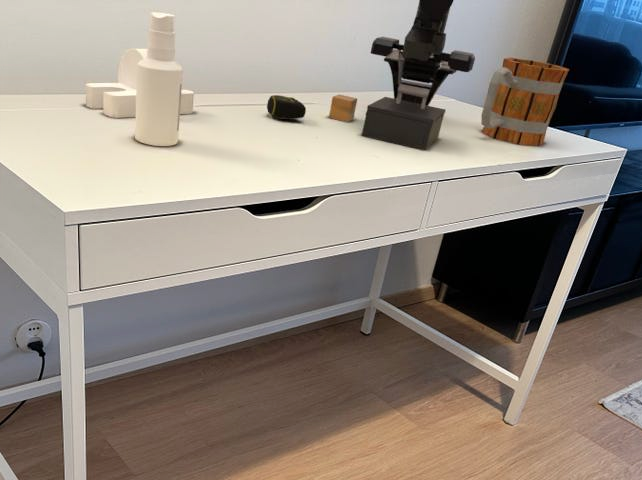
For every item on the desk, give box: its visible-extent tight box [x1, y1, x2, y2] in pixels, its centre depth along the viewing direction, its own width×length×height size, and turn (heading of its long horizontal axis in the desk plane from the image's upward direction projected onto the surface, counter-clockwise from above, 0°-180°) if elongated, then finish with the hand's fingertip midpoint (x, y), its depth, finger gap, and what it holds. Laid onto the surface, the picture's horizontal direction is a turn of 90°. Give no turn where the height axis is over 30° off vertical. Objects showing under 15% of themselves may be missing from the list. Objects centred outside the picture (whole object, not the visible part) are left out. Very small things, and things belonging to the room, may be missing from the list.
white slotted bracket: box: [85, 47, 195, 119], centre depth 119 cm, size 10×18×10 cm, turn 133°
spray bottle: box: [134, 11, 184, 147], centre depth 100 cm, size 7×7×18 cm
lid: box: [366, 84, 447, 124], centre depth 127 cm, size 13×13×4 cm
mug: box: [481, 57, 570, 147], centre depth 140 cm, size 20×14×15 cm
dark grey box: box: [361, 109, 445, 151], centre depth 129 cm, size 13×13×5 cm
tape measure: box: [266, 94, 307, 120], centre depth 130 cm, size 7×7×4 cm
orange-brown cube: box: [328, 94, 358, 123], centre depth 137 cm, size 4×4×4 cm
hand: (411, 101), depth 129 cm, fingers closed on lid, 6 cm apart
